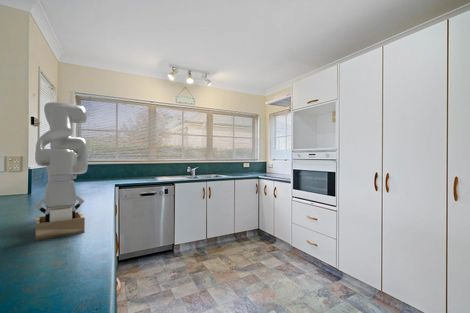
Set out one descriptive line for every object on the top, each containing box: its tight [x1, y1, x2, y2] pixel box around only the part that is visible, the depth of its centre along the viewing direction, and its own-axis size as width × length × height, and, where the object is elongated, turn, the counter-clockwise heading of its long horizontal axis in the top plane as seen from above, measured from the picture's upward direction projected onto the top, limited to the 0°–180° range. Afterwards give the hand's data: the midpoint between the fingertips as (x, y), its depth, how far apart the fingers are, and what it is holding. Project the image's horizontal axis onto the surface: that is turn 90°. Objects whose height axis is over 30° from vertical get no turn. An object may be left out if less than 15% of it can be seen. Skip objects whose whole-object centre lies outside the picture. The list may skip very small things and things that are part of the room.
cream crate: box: [49, 206, 72, 222], centre depth 91 cm, size 9×7×7 cm
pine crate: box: [35, 211, 86, 242], centre depth 91 cm, size 14×15×6 cm
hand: (60, 221), depth 91 cm, fingers closed on cream crate, 6 cm apart
